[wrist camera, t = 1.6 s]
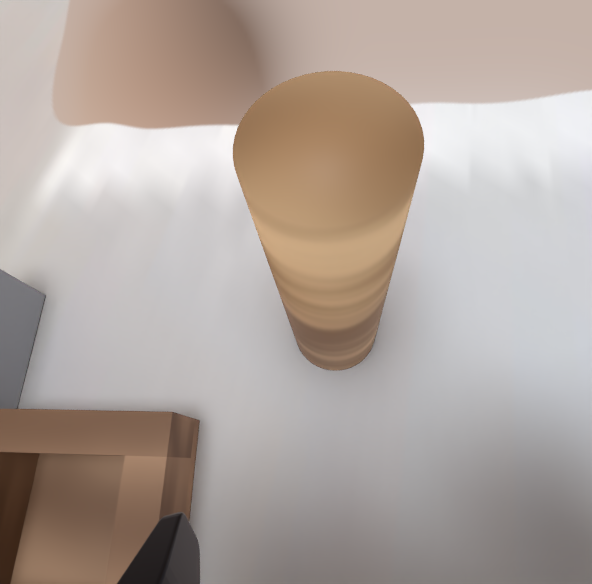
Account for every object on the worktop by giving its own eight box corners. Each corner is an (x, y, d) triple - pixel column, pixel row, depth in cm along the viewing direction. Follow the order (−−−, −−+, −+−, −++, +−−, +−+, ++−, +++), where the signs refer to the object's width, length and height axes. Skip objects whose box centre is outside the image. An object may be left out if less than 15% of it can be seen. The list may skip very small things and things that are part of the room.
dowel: (376, 370, 21) (431, 223, 8) (294, 369, 22) (224, 228, 9) (374, 293, 23) (417, 66, 10) (296, 293, 23) (240, 75, 10)
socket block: (178, 646, 18) (136, 692, 15) (-23, 631, 19) (-110, 671, 16) (201, 421, 22) (172, 412, 18) (28, 417, 22) (-34, 407, 19)
